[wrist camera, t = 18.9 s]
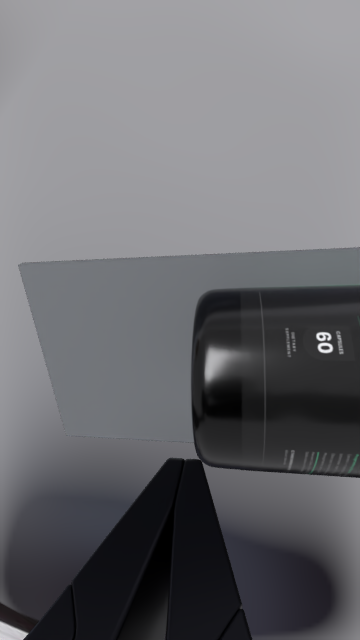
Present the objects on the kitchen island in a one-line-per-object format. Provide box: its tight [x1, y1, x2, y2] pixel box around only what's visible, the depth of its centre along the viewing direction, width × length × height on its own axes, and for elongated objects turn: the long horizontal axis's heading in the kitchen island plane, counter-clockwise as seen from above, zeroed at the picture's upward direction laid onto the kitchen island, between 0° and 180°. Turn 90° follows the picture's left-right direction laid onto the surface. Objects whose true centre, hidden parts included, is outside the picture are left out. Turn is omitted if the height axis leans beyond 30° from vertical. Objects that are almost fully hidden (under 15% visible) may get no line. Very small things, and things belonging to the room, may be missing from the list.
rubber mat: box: [18, 247, 360, 443], centre depth 17 cm, size 11×18×1 cm, turn 95°
